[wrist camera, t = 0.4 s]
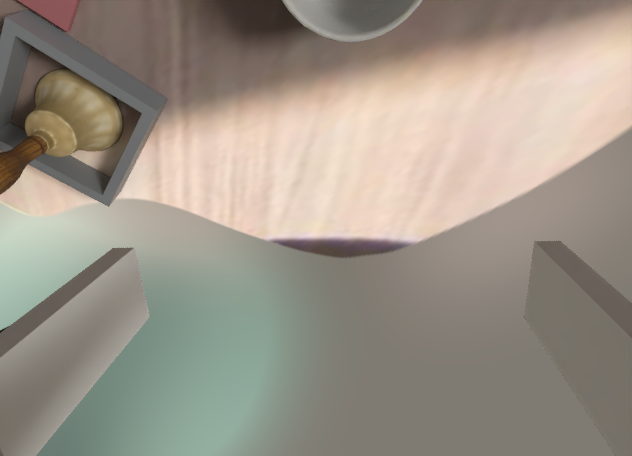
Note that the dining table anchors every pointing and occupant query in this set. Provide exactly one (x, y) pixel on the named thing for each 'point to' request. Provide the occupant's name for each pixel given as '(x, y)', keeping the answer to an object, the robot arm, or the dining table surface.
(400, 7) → the teacup
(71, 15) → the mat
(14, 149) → the hand bell
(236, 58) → the dining table surface
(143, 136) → the bell tray
